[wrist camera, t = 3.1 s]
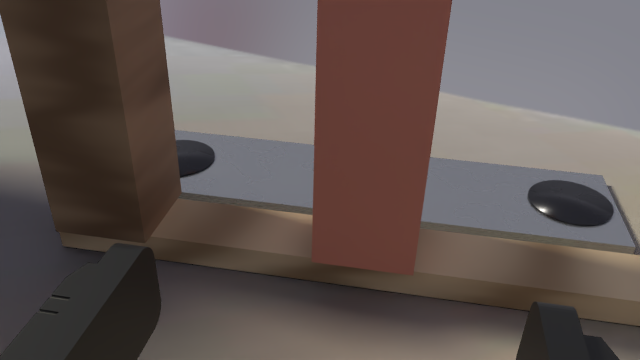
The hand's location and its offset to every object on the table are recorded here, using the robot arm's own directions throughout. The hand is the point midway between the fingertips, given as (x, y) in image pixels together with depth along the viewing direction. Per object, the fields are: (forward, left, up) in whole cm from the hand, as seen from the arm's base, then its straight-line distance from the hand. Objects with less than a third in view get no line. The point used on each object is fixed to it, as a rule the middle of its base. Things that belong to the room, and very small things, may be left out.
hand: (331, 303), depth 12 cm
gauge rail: (-8, +7, -8) cm, 13 cm away
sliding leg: (-7, +8, -6) cm, 12 cm away
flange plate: (-13, +11, -8) cm, 19 cm away
